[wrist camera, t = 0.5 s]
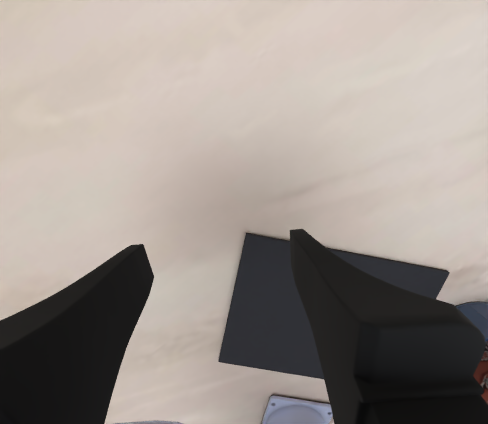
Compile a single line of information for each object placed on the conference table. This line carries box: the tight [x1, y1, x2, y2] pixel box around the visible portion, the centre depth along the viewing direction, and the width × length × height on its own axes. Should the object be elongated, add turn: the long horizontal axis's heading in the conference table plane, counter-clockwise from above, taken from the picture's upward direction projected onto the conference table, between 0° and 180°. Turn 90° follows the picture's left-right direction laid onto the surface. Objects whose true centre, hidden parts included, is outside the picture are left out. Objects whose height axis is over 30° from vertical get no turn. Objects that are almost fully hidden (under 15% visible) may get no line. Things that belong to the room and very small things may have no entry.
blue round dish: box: [455, 302, 488, 342], centre depth 25 cm, size 11×11×4 cm
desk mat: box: [219, 233, 449, 379], centre depth 26 cm, size 16×20×1 cm
